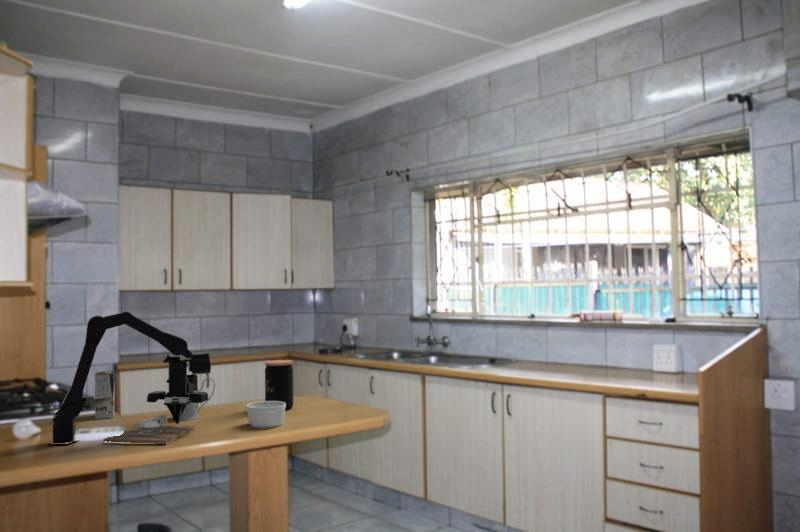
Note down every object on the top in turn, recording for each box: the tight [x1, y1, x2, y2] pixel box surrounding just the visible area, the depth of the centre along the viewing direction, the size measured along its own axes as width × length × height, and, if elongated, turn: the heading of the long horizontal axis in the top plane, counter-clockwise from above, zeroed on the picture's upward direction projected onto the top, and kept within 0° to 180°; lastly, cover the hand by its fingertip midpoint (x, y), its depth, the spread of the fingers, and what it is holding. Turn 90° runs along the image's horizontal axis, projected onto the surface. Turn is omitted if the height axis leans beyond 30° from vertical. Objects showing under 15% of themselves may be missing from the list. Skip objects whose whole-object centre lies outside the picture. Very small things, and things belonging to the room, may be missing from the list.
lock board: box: [103, 424, 195, 444], centre depth 218 cm, size 20×20×2 cm
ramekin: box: [245, 400, 286, 429], centre depth 235 cm, size 13×13×7 cm
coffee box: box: [94, 370, 116, 420], centre depth 252 cm, size 9×6×16 cm
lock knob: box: [139, 413, 168, 433], centre depth 221 cm, size 12×6×3 cm, turn 173°
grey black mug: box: [180, 374, 216, 421], centre depth 249 cm, size 9×14×15 cm, turn 113°
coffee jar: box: [264, 359, 294, 411], centre depth 263 cm, size 11×11×18 cm
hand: (177, 423), depth 225 cm, fingers closed
